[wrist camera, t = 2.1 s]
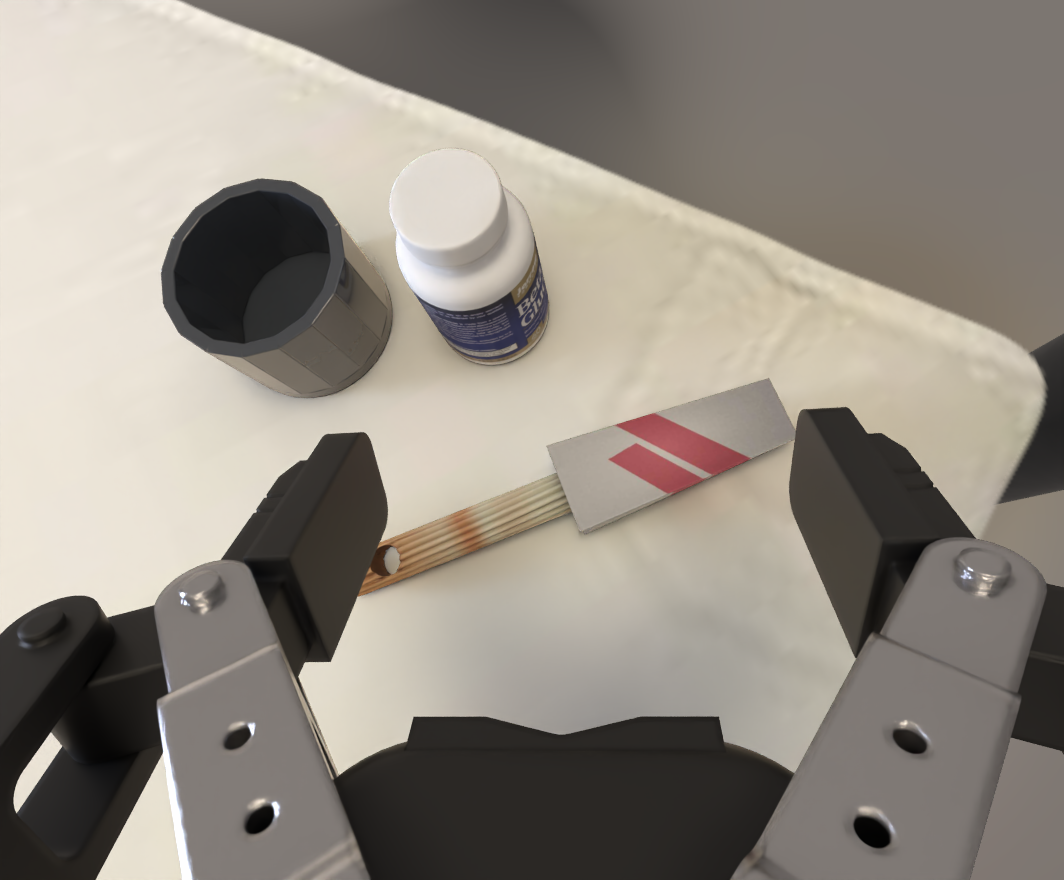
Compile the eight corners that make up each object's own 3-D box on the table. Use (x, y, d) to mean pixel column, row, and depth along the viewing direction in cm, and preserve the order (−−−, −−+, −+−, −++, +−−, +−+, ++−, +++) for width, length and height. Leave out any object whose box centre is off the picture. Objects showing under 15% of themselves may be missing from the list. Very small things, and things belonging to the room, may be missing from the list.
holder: (380, 233, 33) (330, 158, 27) (403, 376, 31) (355, 329, 25) (234, 271, 34) (155, 205, 28) (249, 414, 32) (167, 376, 26)
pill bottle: (553, 363, 30) (525, 262, 21) (442, 371, 31) (366, 277, 22) (548, 259, 32) (519, 119, 22) (441, 269, 32) (369, 137, 23)
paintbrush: (814, 443, 25) (348, 619, 27) (797, 455, 28) (374, 615, 29) (771, 355, 26) (324, 531, 28) (759, 375, 29) (352, 534, 30)
